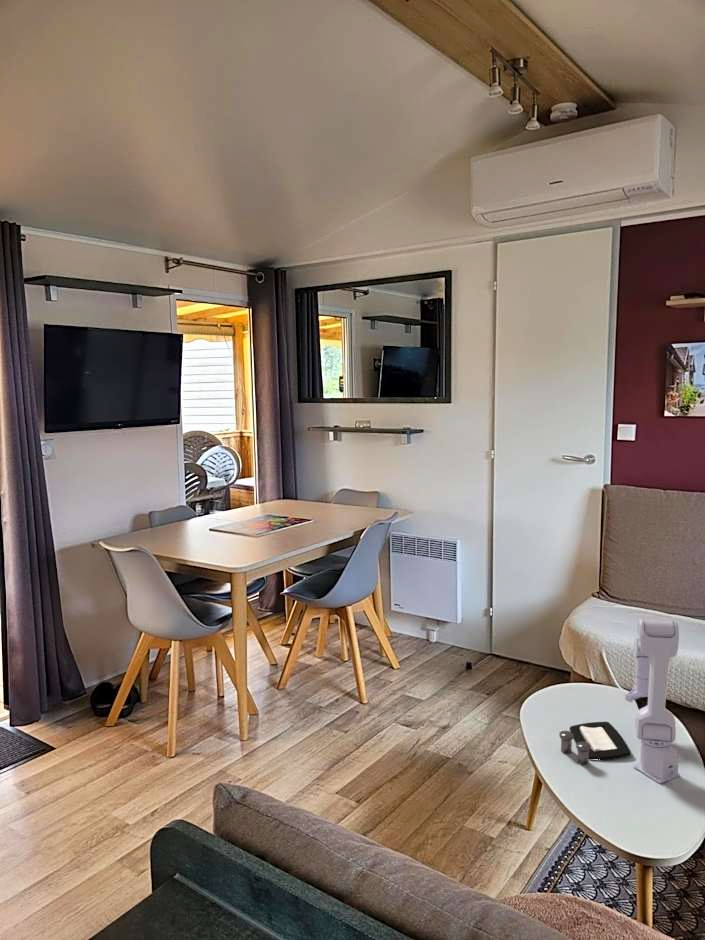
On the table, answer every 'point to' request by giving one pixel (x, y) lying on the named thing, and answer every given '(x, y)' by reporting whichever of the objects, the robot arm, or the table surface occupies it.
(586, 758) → the metal bosses
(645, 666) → the robot arm
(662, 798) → the table surface
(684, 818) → the table surface
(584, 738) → the light switch
